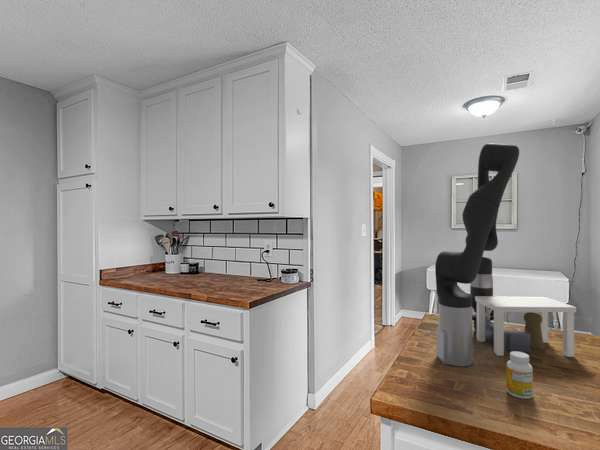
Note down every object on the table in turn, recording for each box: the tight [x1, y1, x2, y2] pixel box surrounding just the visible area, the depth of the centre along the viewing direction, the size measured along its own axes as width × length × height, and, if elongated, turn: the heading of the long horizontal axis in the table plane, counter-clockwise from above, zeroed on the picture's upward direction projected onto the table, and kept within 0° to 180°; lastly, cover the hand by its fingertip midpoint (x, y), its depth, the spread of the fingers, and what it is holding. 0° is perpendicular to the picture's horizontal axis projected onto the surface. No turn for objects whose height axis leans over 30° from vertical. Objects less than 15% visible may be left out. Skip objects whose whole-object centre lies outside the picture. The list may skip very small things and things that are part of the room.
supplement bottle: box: [506, 351, 534, 400], centre depth 82 cm, size 5×5×10 cm
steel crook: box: [473, 318, 531, 353], centre depth 118 cm, size 9×20×6 cm, turn 176°
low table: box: [475, 295, 577, 358], centre depth 111 cm, size 24×14×16 cm, turn 86°
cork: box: [523, 312, 545, 350], centre depth 113 cm, size 6×6×11 cm
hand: (481, 330), depth 125 cm, fingers closed on steel crook, 2 cm apart
